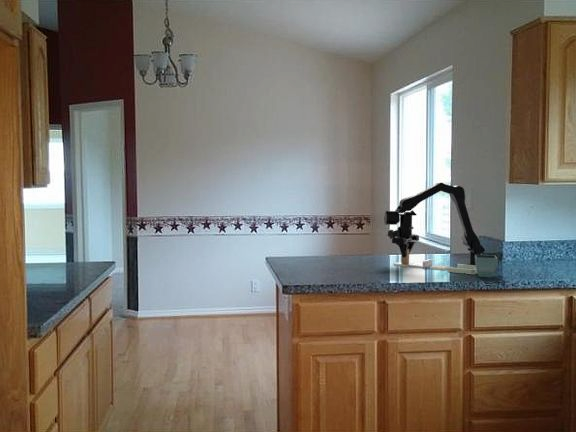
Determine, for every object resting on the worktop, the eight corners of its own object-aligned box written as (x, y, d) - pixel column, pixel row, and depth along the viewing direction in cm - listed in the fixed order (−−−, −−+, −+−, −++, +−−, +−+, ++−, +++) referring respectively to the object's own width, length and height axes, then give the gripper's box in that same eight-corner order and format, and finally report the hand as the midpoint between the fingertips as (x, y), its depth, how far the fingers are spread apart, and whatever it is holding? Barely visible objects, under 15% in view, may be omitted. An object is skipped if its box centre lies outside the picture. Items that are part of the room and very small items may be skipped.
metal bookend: (393, 265, 304) (394, 249, 304) (401, 263, 311) (401, 247, 310) (425, 268, 295) (425, 251, 294) (431, 266, 301) (432, 250, 301)
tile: (435, 268, 300) (435, 264, 300) (449, 269, 296) (449, 266, 296) (429, 269, 294) (429, 266, 294) (443, 271, 290) (444, 268, 290)
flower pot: (497, 278, 268) (497, 258, 268) (475, 278, 270) (476, 257, 269) (494, 275, 277) (495, 255, 276) (473, 274, 279) (474, 254, 278)
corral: (458, 268, 297) (458, 263, 296) (483, 270, 290) (483, 266, 289) (447, 271, 286) (447, 267, 286) (473, 274, 279) (473, 270, 279)
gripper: (399, 222, 316) (398, 253, 317) (382, 225, 301) (381, 257, 302) (419, 223, 309) (419, 255, 311) (403, 226, 294) (402, 259, 295)
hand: (405, 256), depth 305 cm, fingers open, 4 cm apart
